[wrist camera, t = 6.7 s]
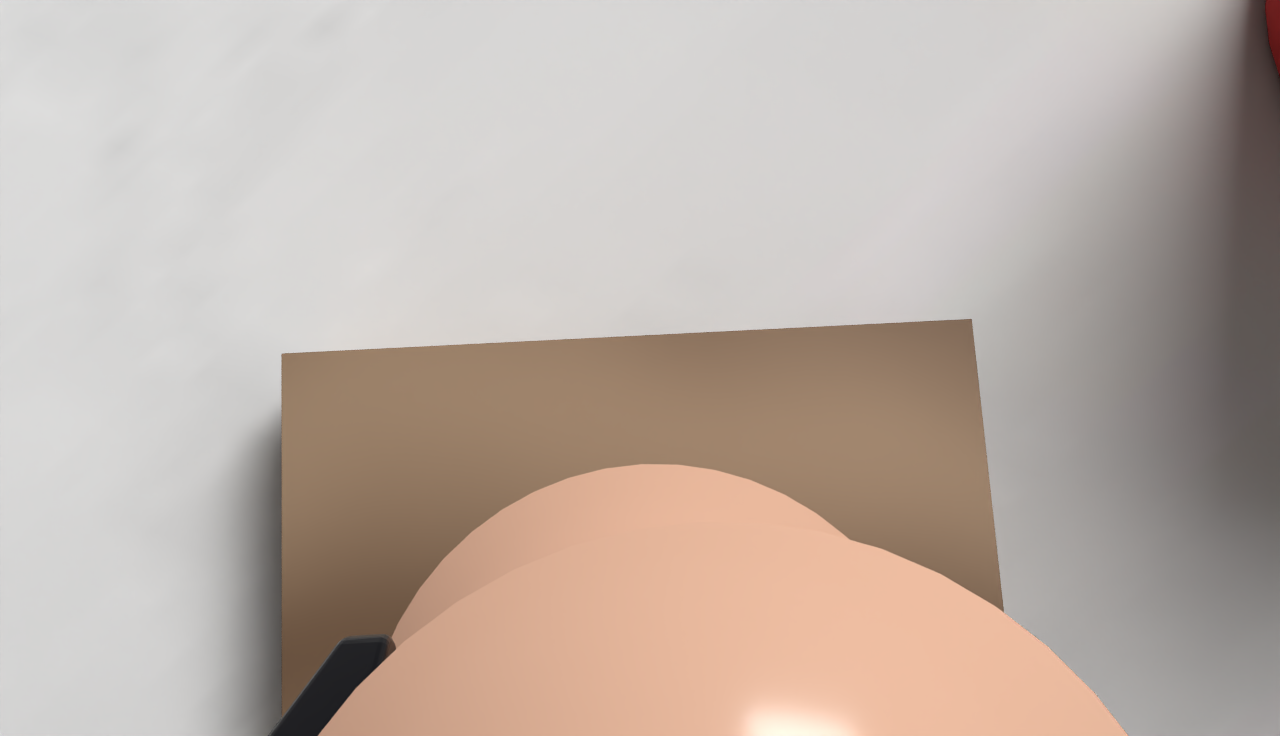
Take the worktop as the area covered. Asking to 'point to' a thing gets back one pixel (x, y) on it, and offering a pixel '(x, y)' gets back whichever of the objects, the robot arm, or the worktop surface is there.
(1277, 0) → the canned food
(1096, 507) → the worktop surface
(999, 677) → the peach chess pawn
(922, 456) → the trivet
